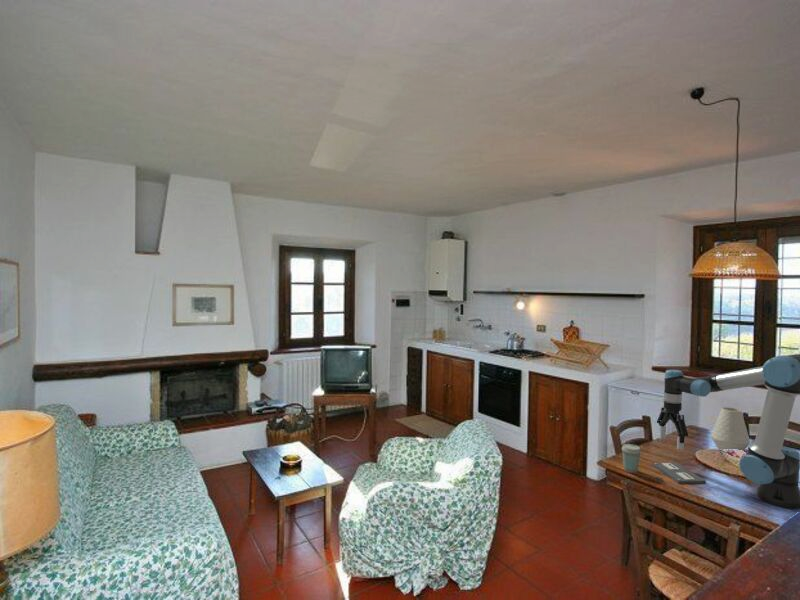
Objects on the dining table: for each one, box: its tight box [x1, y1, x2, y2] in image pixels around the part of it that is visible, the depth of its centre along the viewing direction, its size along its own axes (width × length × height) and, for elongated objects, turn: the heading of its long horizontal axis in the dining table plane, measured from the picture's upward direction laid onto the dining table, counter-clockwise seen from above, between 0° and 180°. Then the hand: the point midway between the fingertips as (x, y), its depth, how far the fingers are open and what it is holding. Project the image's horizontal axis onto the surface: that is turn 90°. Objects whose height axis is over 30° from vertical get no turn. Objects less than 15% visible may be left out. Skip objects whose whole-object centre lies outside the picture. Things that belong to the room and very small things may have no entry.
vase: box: [710, 406, 751, 451], centre depth 245 cm, size 17×17×23 cm
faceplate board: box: [651, 462, 706, 484], centre depth 215 cm, size 20×13×2 cm, turn 2°
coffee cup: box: [621, 443, 642, 474], centre depth 218 cm, size 8×9×12 cm
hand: (671, 443), depth 220 cm, fingers open, 13 cm apart
